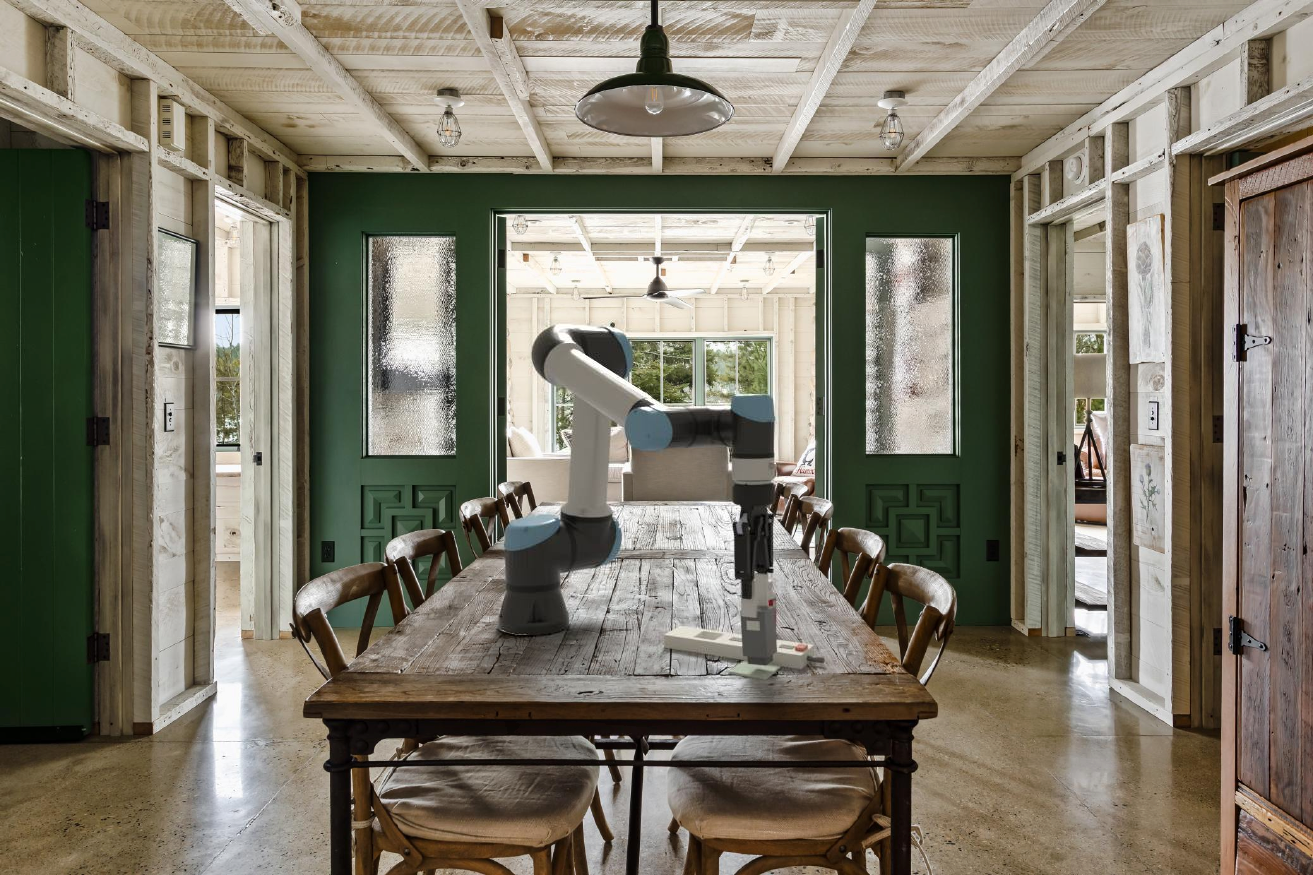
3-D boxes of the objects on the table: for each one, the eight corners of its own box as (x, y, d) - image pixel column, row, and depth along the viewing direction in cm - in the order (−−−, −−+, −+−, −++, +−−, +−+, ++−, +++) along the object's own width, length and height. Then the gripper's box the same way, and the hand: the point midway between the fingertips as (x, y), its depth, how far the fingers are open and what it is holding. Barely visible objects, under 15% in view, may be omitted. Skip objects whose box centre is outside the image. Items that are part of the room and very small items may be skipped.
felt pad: (728, 673, 144) (728, 671, 144) (744, 662, 150) (744, 659, 150) (765, 679, 141) (765, 677, 141) (780, 667, 147) (780, 665, 147)
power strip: (664, 647, 160) (663, 631, 160) (680, 637, 166) (680, 622, 166) (817, 671, 144) (817, 654, 144) (829, 660, 151) (829, 643, 150)
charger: (743, 664, 144) (740, 610, 144) (753, 657, 148) (750, 605, 148) (767, 666, 141) (764, 611, 141) (777, 660, 145) (774, 606, 146)
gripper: (753, 487, 134) (755, 627, 135) (791, 477, 150) (792, 604, 151) (712, 485, 138) (714, 622, 139) (753, 476, 153) (754, 599, 154)
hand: (755, 612), depth 145 cm, fingers closed on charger, 5 cm apart
